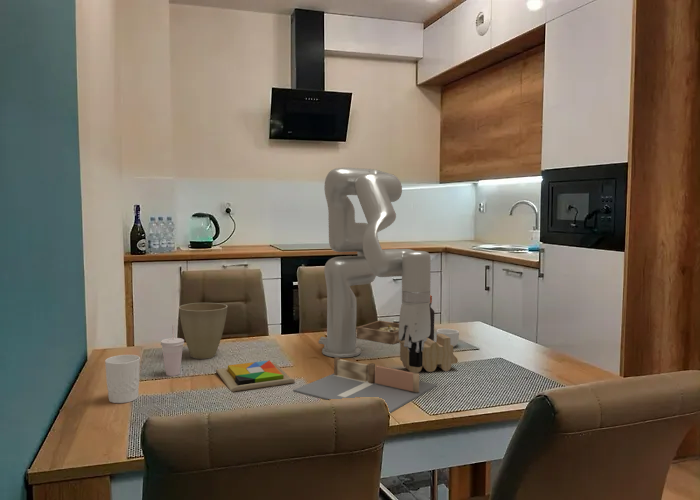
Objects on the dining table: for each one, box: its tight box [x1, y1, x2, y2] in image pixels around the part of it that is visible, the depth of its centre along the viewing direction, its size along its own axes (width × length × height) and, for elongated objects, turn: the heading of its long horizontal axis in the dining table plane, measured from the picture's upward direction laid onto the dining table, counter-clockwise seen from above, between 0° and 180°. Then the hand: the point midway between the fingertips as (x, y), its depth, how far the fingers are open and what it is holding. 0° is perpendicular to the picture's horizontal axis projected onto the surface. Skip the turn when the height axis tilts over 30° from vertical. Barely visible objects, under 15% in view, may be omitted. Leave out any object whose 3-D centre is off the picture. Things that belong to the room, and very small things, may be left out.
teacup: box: [435, 328, 460, 348], centre depth 193 cm, size 10×8×5 cm
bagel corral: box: [356, 319, 399, 345], centre depth 204 cm, size 16×16×4 cm
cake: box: [377, 325, 399, 332], centre depth 203 cm, size 10×10×5 cm
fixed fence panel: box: [333, 357, 376, 384], centre depth 153 cm, size 13×2×5 cm, turn 55°
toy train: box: [397, 334, 459, 374], centre depth 163 cm, size 6×17×10 cm, turn 104°
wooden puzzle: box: [215, 359, 295, 393], centre depth 154 cm, size 18×19×4 cm
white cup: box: [104, 354, 141, 404], centre depth 136 cm, size 8×8×10 cm
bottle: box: [428, 294, 435, 342], centre depth 176 cm, size 7×7×20 cm
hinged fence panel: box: [375, 365, 420, 392], centre depth 145 cm, size 13×2×4 cm, turn 55°
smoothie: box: [160, 324, 185, 377], centre depth 156 cm, size 6×6×14 cm
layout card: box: [293, 373, 438, 414], centre depth 146 cm, size 28×26×1 cm
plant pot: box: [178, 302, 228, 360], centre depth 176 cm, size 15×15×16 cm
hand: (415, 365), depth 148 cm, fingers closed
